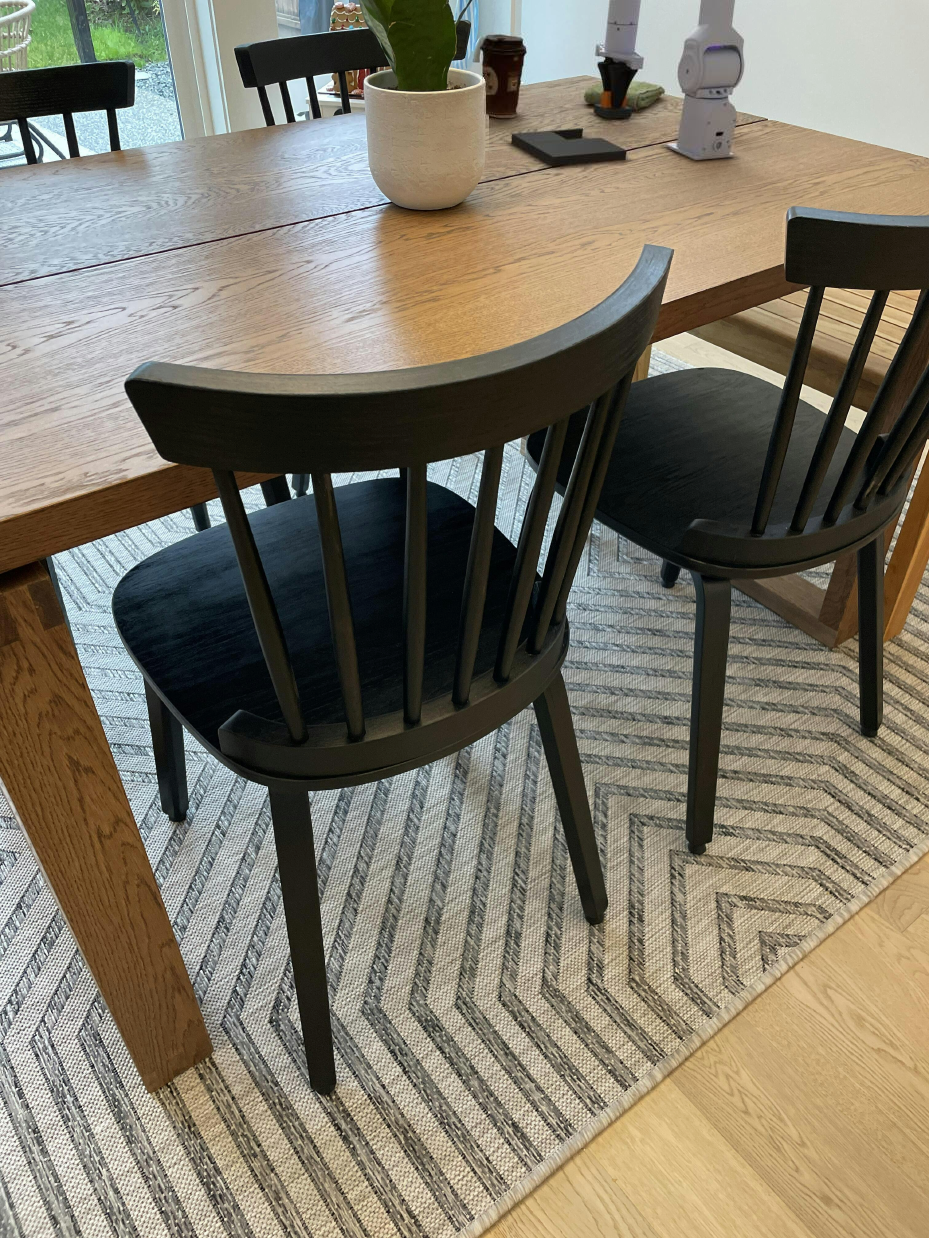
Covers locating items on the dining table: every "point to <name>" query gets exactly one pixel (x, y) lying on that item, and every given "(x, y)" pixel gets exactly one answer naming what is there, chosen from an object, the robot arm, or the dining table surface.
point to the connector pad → (611, 108)
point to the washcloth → (629, 94)
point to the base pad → (567, 147)
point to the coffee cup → (502, 73)
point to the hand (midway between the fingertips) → (613, 105)
